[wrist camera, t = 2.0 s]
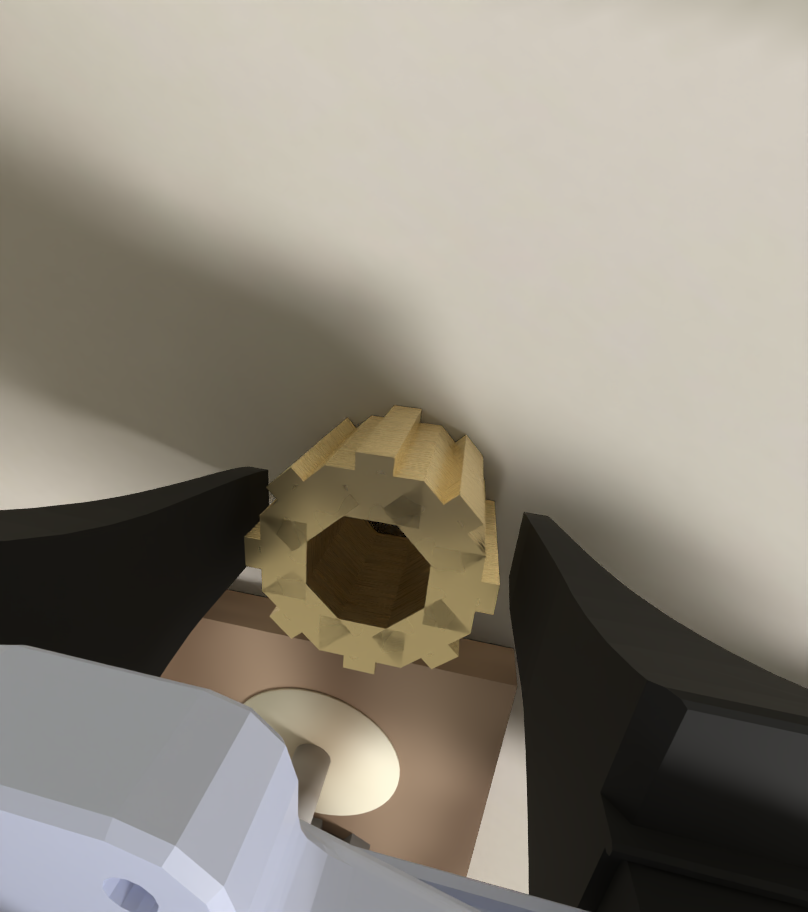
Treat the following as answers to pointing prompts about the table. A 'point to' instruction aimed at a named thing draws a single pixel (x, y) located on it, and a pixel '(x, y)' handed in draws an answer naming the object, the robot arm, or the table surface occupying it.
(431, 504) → the wooden gear
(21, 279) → the table surface
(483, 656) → the gear board
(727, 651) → the robot arm
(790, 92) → the table surface
